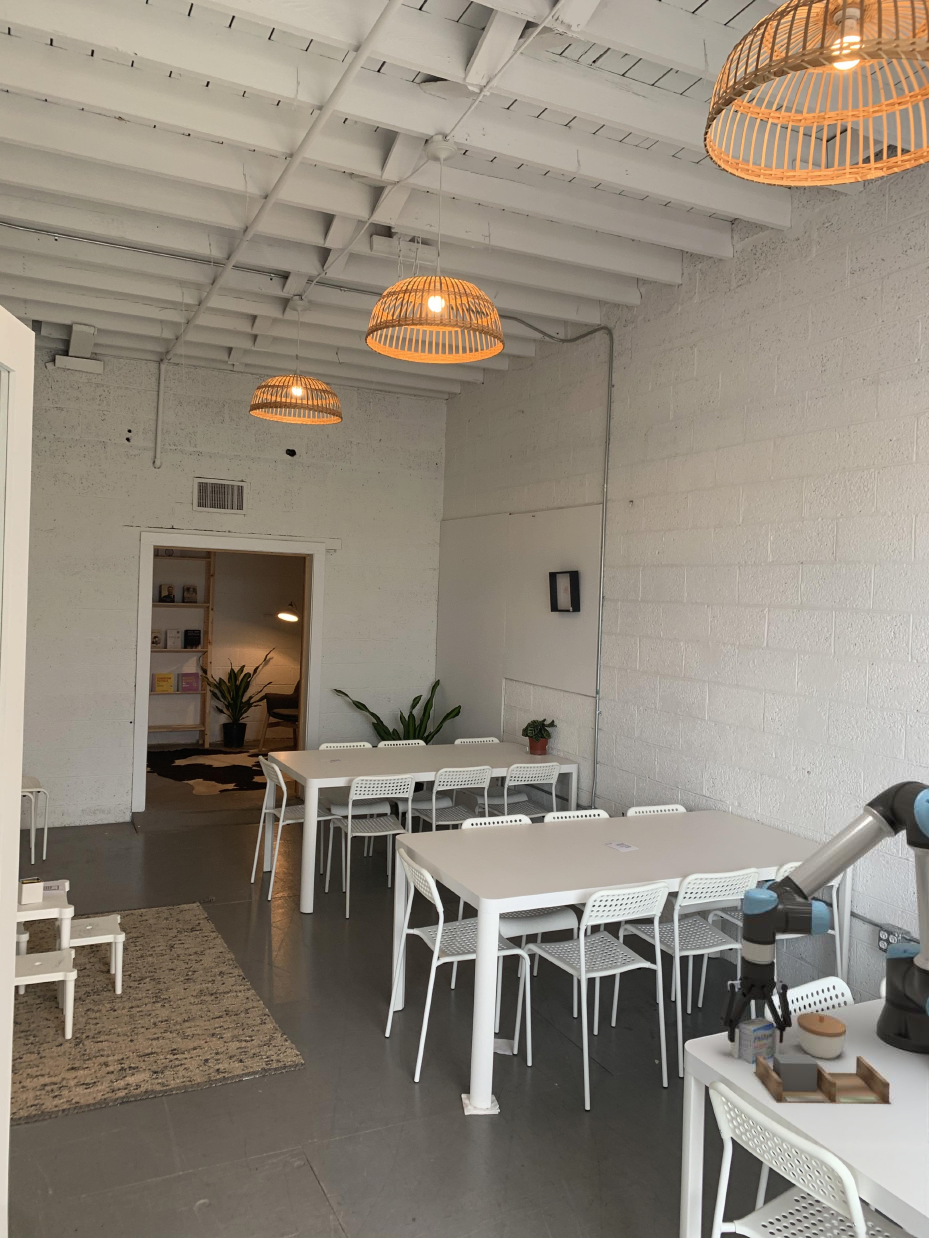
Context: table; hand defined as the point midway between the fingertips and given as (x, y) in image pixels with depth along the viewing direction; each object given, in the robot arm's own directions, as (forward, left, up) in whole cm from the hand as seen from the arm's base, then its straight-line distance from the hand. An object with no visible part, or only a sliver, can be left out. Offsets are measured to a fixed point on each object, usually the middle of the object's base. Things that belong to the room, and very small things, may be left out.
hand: (754, 1055), depth 205 cm
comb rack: (-9, +14, -1) cm, 17 cm away
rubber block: (-3, +14, 0) cm, 14 cm away
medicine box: (0, 0, -1) cm, 1 cm away
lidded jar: (-17, -3, -1) cm, 17 cm away
